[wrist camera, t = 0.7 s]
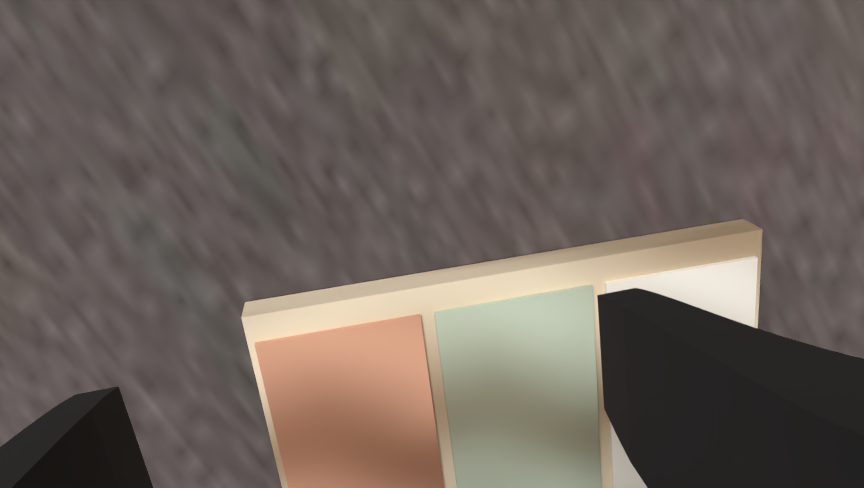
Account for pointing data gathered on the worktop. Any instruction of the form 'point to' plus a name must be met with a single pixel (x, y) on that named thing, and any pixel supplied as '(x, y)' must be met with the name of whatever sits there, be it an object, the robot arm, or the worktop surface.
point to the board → (475, 364)
